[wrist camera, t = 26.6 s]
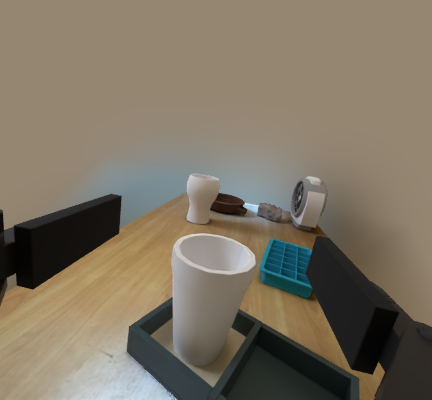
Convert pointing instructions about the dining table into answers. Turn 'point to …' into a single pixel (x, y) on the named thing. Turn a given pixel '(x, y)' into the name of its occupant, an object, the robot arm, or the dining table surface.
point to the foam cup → (207, 293)
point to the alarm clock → (308, 202)
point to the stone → (269, 211)
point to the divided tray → (239, 364)
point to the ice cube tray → (286, 267)
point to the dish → (228, 204)
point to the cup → (201, 197)
